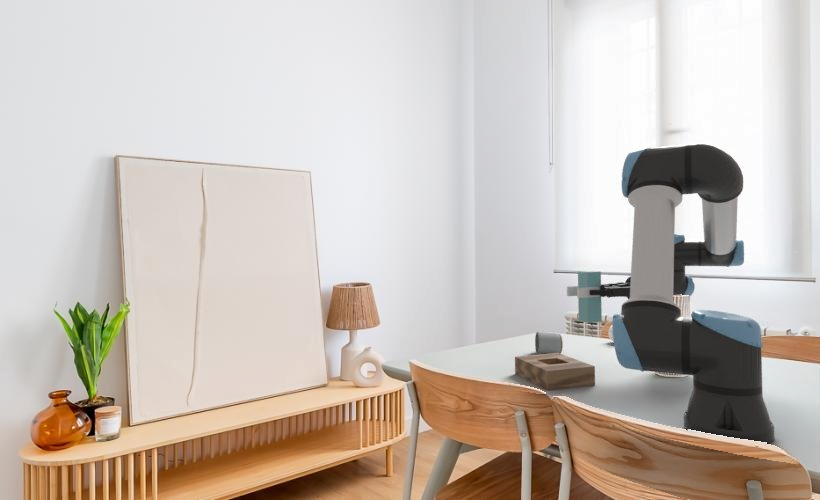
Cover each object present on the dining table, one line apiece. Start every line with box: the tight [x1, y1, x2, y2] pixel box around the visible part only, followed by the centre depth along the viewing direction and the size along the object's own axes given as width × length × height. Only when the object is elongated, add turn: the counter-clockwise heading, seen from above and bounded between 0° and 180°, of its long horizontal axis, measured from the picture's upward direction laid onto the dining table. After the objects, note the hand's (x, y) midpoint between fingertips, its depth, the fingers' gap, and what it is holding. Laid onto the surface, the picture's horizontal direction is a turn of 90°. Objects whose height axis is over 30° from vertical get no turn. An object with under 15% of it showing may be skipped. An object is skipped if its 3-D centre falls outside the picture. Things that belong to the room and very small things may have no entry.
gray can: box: [534, 331, 564, 355], centre depth 177 cm, size 11×8×8 cm
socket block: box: [514, 353, 596, 391], centre depth 144 cm, size 18×14×5 cm
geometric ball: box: [607, 324, 614, 343], centre depth 191 cm, size 8×8×8 cm
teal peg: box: [577, 270, 603, 324], centre depth 146 cm, size 4×4×14 cm
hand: (572, 292), depth 145 cm, fingers closed on teal peg, 4 cm apart
